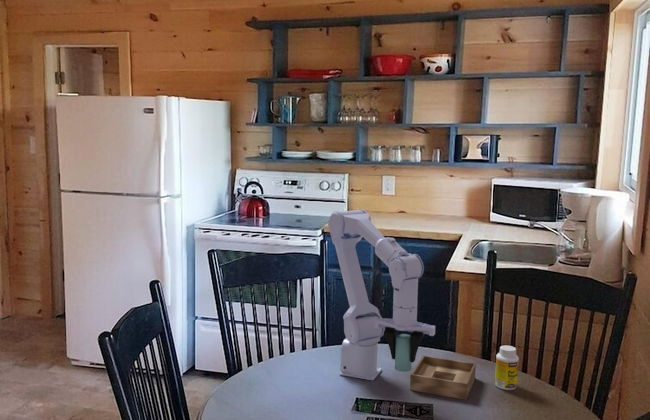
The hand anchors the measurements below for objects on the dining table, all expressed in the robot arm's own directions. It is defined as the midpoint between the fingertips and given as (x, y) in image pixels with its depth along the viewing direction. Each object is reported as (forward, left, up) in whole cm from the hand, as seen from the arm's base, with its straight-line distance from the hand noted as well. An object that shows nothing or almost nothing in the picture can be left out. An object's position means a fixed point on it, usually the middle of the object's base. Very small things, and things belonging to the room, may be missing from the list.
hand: (403, 359), depth 144 cm
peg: (0, 0, -2) cm, 2 cm away
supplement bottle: (+23, +16, -10) cm, 30 cm away
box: (+8, +11, -9) cm, 17 cm away
